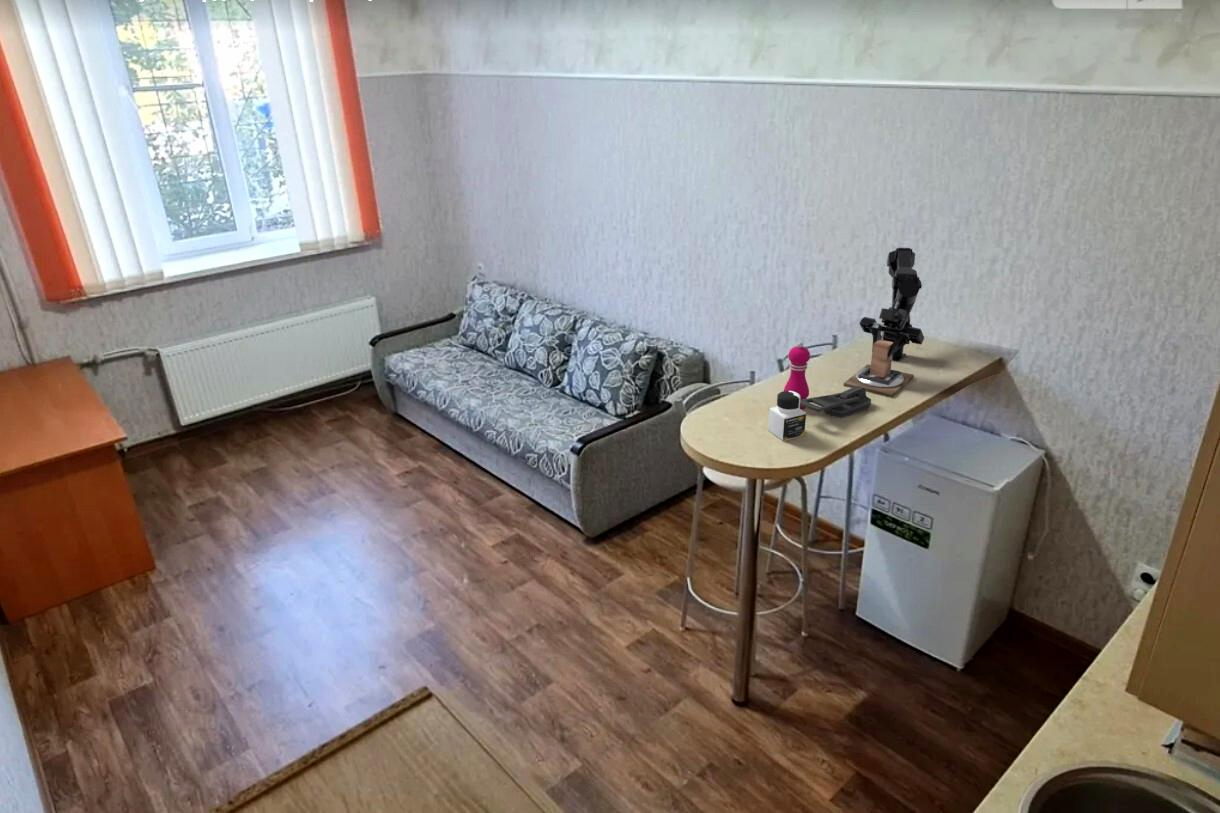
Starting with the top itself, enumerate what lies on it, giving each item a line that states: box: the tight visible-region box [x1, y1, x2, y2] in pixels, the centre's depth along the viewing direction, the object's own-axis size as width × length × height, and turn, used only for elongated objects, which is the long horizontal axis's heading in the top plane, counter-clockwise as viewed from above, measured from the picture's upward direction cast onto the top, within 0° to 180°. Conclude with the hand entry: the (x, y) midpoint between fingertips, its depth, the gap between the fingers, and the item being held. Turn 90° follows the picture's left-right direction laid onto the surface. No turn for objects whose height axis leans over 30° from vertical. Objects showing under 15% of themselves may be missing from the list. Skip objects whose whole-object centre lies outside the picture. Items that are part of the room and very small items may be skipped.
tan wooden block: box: [870, 339, 893, 377], centre depth 237 cm, size 4×4×10 cm
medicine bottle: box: [768, 390, 807, 442], centre depth 210 cm, size 7×7×12 cm
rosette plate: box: [855, 364, 903, 388], centre depth 239 cm, size 14×14×2 cm
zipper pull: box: [800, 386, 872, 419], centre depth 221 cm, size 9×7×25 cm
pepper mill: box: [783, 341, 811, 410], centre depth 223 cm, size 7×7×20 cm
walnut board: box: [843, 364, 915, 398], centre depth 240 cm, size 18×15×1 cm
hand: (880, 354), depth 235 cm, fingers closed on tan wooden block, 4 cm apart
